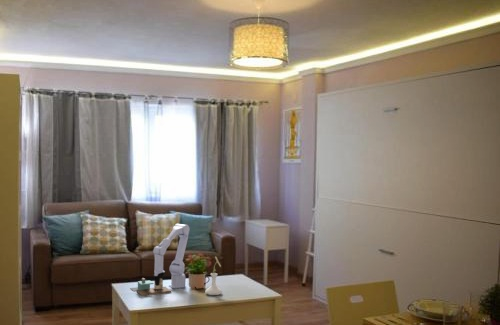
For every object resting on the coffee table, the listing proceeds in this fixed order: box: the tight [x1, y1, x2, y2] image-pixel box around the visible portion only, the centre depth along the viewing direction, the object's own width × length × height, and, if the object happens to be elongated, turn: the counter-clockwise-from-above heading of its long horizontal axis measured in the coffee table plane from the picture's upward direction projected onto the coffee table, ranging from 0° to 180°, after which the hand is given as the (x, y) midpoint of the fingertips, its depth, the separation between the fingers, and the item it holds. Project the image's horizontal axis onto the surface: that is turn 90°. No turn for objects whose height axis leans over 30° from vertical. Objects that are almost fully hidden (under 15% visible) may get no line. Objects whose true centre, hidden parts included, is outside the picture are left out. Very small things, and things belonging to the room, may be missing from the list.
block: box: [153, 278, 164, 289], centre depth 346 cm, size 4×4×6 cm
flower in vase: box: [204, 256, 223, 296], centre depth 344 cm, size 13×11×25 cm
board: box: [136, 286, 172, 297], centre depth 345 cm, size 20×12×2 cm, turn 119°
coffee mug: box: [204, 273, 210, 285], centre depth 359 cm, size 12×9×10 cm
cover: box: [137, 277, 154, 290], centre depth 342 cm, size 8×8×8 cm
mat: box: [129, 286, 138, 292], centre depth 352 cm, size 10×8×1 cm
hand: (158, 284), depth 346 cm, fingers closed on block, 6 cm apart
